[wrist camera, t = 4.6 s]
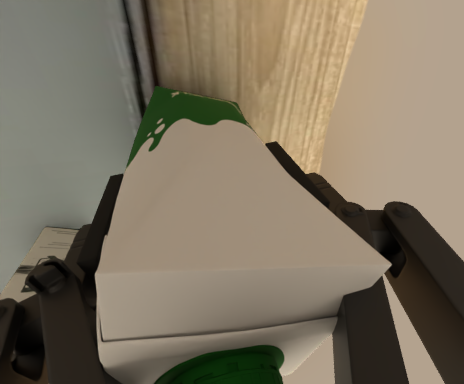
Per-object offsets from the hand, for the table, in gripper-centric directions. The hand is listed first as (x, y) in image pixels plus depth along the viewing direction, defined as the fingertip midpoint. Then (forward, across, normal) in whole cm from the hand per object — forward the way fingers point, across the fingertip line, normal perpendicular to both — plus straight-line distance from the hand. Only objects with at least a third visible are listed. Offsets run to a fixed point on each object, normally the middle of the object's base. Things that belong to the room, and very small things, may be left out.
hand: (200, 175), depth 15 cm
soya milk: (+8, 0, 0) cm, 8 cm away
